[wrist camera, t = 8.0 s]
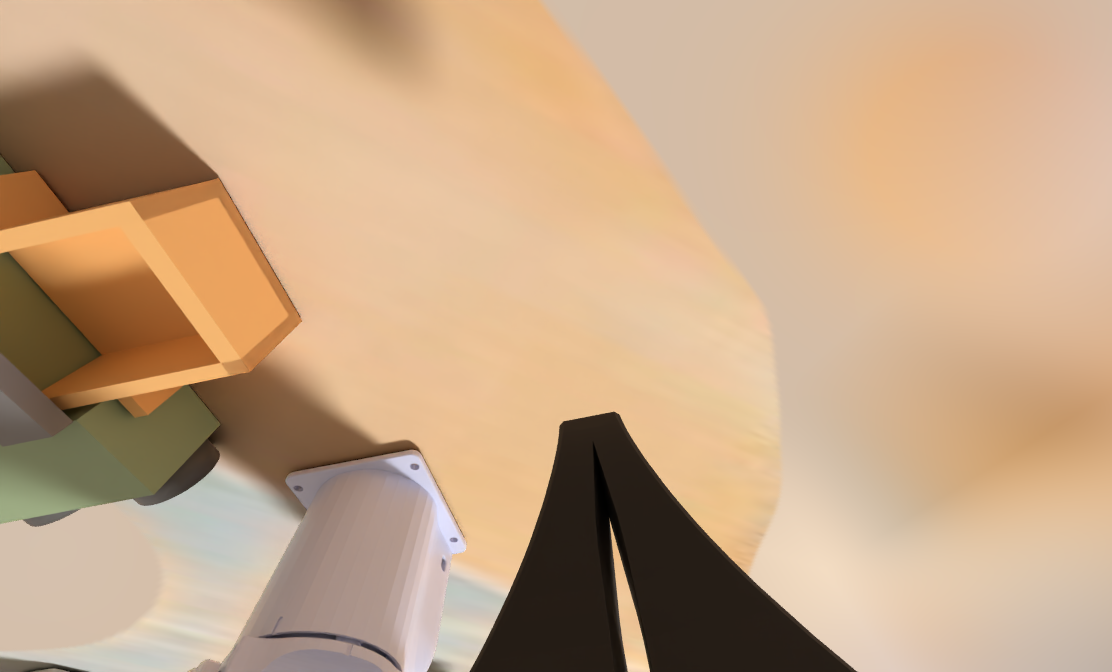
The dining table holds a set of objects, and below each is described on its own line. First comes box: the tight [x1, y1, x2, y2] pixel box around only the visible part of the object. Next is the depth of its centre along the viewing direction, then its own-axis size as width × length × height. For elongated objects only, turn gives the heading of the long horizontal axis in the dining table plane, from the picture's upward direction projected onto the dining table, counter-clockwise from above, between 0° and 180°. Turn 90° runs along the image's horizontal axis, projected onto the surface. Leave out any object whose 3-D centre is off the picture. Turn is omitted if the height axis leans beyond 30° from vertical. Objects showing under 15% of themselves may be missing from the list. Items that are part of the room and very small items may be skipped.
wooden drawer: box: [0, 170, 302, 418], centre depth 16 cm, size 10×9×4 cm
